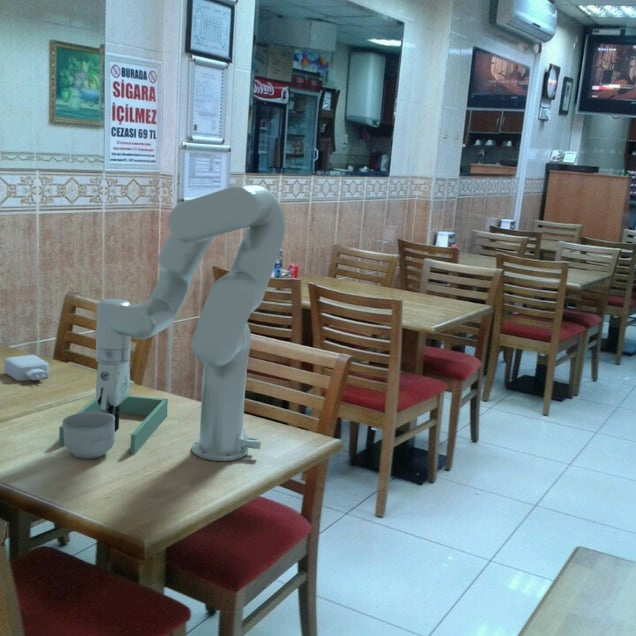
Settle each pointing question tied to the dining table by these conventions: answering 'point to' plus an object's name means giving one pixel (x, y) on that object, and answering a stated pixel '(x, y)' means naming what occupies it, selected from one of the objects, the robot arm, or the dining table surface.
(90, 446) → the teacup
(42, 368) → the charger
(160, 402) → the green u-shaped border
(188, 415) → the dining table surface
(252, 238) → the robot arm
